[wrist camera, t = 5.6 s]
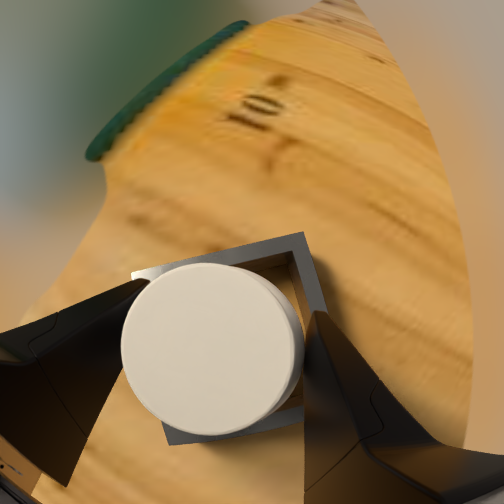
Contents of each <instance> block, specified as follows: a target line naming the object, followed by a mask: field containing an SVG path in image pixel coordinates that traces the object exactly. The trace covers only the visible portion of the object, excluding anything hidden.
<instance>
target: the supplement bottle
mask: <svg viewBox="0 0 504 504" xmlns="http://www.w3.org/2000/svg"><path fill="white" fill-rule="evenodd" d="M121 355H122V362H123V367H124V371H125V374H126V377H127V380H128V382H129V384H130V386H131V388H132V390H133V392H134V393H135V395H136V396H137V398H138V399H139V400H140V402H141V403H142V404H143V405H144V406H145V407H146V408H147V410H148V411H150V412H151V413H152V414H153V415H154V416H156V417H157V418H158V419H160V420H161V421H163V422H165V423H166V424H168V425H170V426H172V427H174V428H176V429H179V430H182V431H185V432H188V433H192V434H198V435H210V436H212V435H223V434H229V433H233V432H236V431H239V430H242V429H245V428H247V427H249V426H251V425H253V424H254V423H256V422H258V421H260V420H262V419H264V418H266V417H267V416H269V415H270V414H272V413H273V412H274V411H276V410H277V409H278V408H279V407H280V406H281V405H282V404H283V403H284V402H285V401H286V400H287V399H288V397H289V396H290V394H291V393H292V392H293V390H294V388H295V386H296V385H297V382H298V380H299V378H300V375H301V372H302V368H303V364H304V357H305V342H304V336H303V331H302V327H301V323H300V321H299V318H298V316H297V313H296V311H295V310H294V308H293V306H292V305H291V303H290V302H289V300H288V299H287V298H286V297H285V295H284V294H283V293H282V292H281V291H280V290H279V289H278V288H277V287H276V286H275V285H273V284H272V283H271V282H269V281H268V280H266V279H265V278H263V277H261V276H259V275H257V274H255V273H253V272H251V271H248V270H245V269H242V268H238V267H232V266H227V265H221V264H215V263H196V264H190V265H185V266H181V267H178V268H175V269H173V270H170V271H168V272H166V273H164V274H162V275H161V276H159V277H158V278H156V279H155V280H153V281H152V282H151V283H150V284H149V285H147V286H146V287H145V288H144V290H143V291H142V292H141V293H140V294H139V295H138V297H137V298H136V299H135V301H134V302H133V304H132V306H131V308H130V310H129V312H128V314H127V317H126V320H125V323H124V326H123V331H122V338H121Z"/></svg>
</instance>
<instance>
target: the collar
mask: <svg viewBox="0 0 504 504" xmlns="http://www.w3.org/2000/svg"><path fill="white" fill-rule="evenodd" d="M196 263H215V264H221V265H227V266H232V267H238V268H242V269H245V270H248V271H251V272H256V271H260V270H264V269H268V268H272V267H276V266H280V265H284V264H287V265H288V268H289V272H290V275H291V279H292V282H293V286H294V289H295V293H296V296H297V300H298V304H299V307H300V311H301V314H302V318H303V322H304V325H305V329H306V333H307V329H308V325H309V322H310V319H311V316H312V313H313V311H314V310H319V311H325V312H327V313H328V311H327V307H326V304H325V300H324V297H323V293H322V290H321V287H320V283H319V280H318V277H317V273H316V270H315V267H314V264H313V260H312V257H311V254H310V251H309V248H308V245H307V241H306V238H305V235H304V232H298V233H294V234H290V235H286V236H281V237H277V238H273V239H269V240H264V241H260V242H256V243H252V244H247V245H243V246H239V247H235V248H231V249H226V250H222V251H218V252H214V253H210V254H206V255H201V256H197V257H193V258H189V259H185V260H181V261H177V262H172V263H168V264H164V265H160V266H156V267H152V268H148V269H144V270H140V271H136V272H132V273H131V276H132V280H134V279H137V278H144V279H148V280H150V282H152V281H153V280H155V279H156V278H158V277H159V276H161V275H162V274H164V273H166V272H168V271H170V270H173V269H175V268H178V267H181V266H185V265H190V264H196ZM328 315H329V314H328ZM302 421H304V394H301V395H297V396H294V397H290V398H288V399H287V400H286V401H285V402H284V403H283V404H282V405H281V406H280V407H279V408H278V409H277V410H276V411H274V412H273V413H272V414H270V415H269V416H267V417H266V418H264V419H262V420H260V421H258V422H256V423H254V424H253V425H251V426H249V427H247V428H245V429H242V430H239V431H236V432H233V433H229V434H223V435H212V436H210V435H198V434H192V433H188V432H185V431H182V430H179V429H176V428H174V427H172V426H170V425H168V424H166V423H165V422H163V421H161V422H162V425H163V428H164V432H165V435H166V438H167V441H168V444H169V446H170V445H182V444H192V443H200V442H208V441H215V440H222V439H228V438H234V437H239V436H244V435H249V434H254V433H259V432H263V431H268V430H272V429H276V428H280V427H284V426H288V425H292V424H295V423H299V422H302Z"/></svg>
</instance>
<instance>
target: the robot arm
mask: <svg viewBox="0 0 504 504" xmlns="http://www.w3.org/2000/svg"><path fill="white" fill-rule="evenodd" d="M150 283H151V282H150V280H148V279H144V278H137V279H134V280H132V281H129V282H127V283H125V284H122V285H120V286H117V287H115V288H113V289H110V290H108V291H105V292H103V293H101V294H98V295H96V296H94V297H91V298H89V299H86V300H84V301H82V302H79V303H77V304H75V305H72V306H70V307H68V308H65V309H63V310H61V311H59V313H58V312H56V313H54V314H51V315H49V316H47V317H44V318H42V319H39V320H37V321H34V322H31V323H29V324H26V325H23V326H20V327H17V328H15V329H12V330H9V331H6V332H3V333H0V504H42V503H41V502H39V501H38V500H36V499H35V498H33V497H32V496H31V494H32V492H33V490H34V488H35V485H36V484H37V482H38V480H39V478H40V476H41V474H42V473H44V474H45V475H47V476H48V477H50V478H51V479H53V480H54V481H56V482H57V483H59V484H61V485H62V486H64V487H67V485H68V483H69V481H70V479H71V476H72V474H73V471H74V469H75V467H76V464H77V462H78V460H79V458H80V455H81V453H82V451H83V449H84V446H85V444H86V442H87V440H88V439H87V438H88V437H89V435H90V433H91V431H92V429H93V426H94V424H95V422H96V420H97V418H98V416H99V414H100V412H101V410H102V408H103V406H104V404H105V402H106V400H107V398H108V396H109V394H110V392H111V390H112V388H113V386H114V384H115V382H116V380H117V378H118V376H119V374H120V372H121V370H122V368H123V362H122V355H121V338H122V331H123V326H124V323H125V320H126V317H127V314H128V312H129V310H130V308H131V306H132V304H133V302H134V301H135V299H136V298H137V297H138V295H139V294H140V293H141V292H142V291H143V290H144V288H145V287H146V286H147V285H149V284H150ZM303 394H304V443H305V474H304V492H305V493H304V504H504V455H496V454H490V453H483V452H477V451H471V450H466V449H461V448H456V447H451V446H447V445H445V444H442V443H440V442H439V441H437V440H436V439H434V438H433V437H432V436H431V435H430V434H429V433H428V432H427V431H426V430H425V429H424V428H423V427H422V426H421V425H420V424H419V423H418V422H417V421H416V419H415V418H414V417H413V416H412V415H411V414H410V413H409V412H408V411H407V410H406V409H405V408H404V407H403V406H402V405H401V404H400V403H399V401H398V400H397V399H396V398H395V397H394V396H393V394H392V393H391V392H390V391H389V390H388V388H387V387H386V386H385V385H384V383H383V382H382V381H381V380H379V377H378V376H377V375H376V373H375V372H374V371H373V369H372V368H371V367H370V366H369V364H368V363H367V362H366V361H365V359H364V358H363V357H362V356H361V354H360V353H359V352H358V351H357V349H356V348H355V347H354V346H353V344H352V343H351V342H350V341H349V339H348V338H347V337H346V336H345V334H344V333H343V332H342V331H341V329H340V328H339V327H338V326H337V324H336V323H335V322H334V321H333V319H332V318H331V317H330V316H329V315H328V313H327V312H325V311H319V310H314V311H313V313H312V316H311V319H310V322H309V325H308V329H307V333H306V344H305V357H304V367H303Z"/></svg>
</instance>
